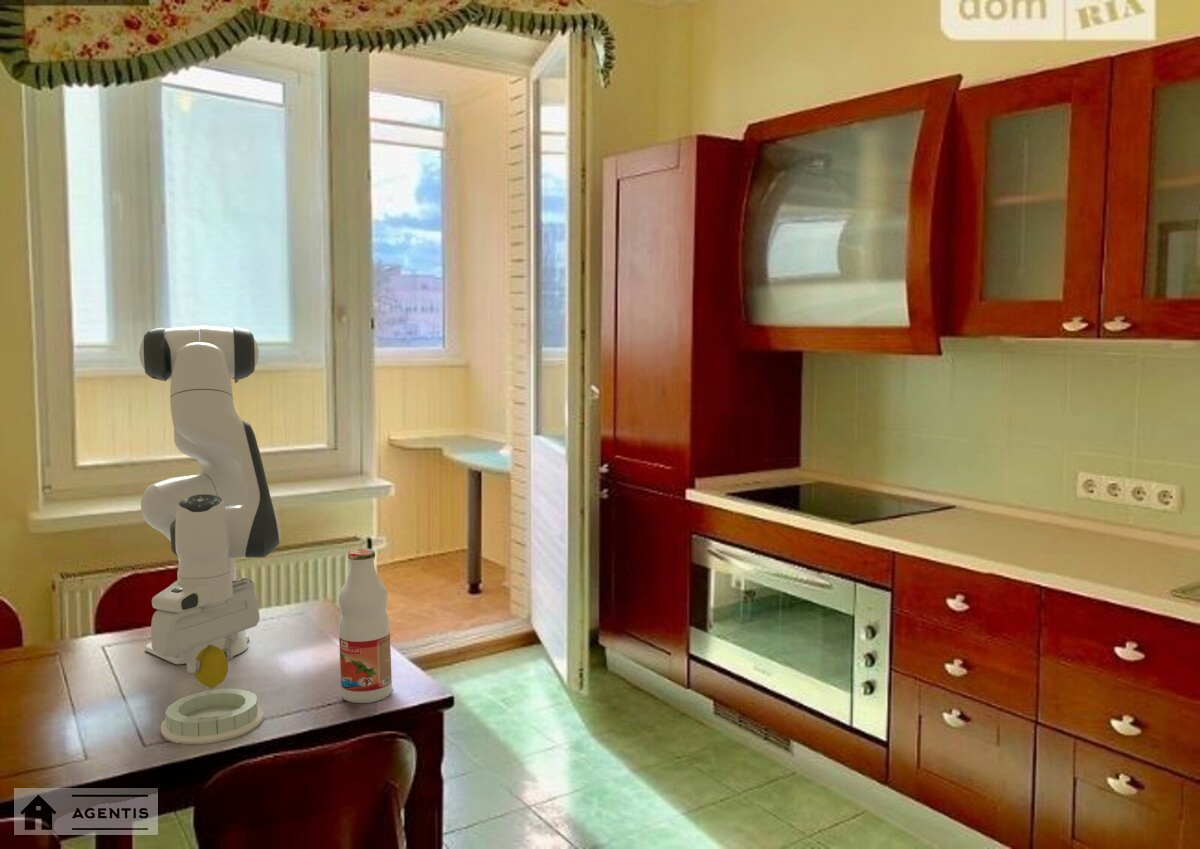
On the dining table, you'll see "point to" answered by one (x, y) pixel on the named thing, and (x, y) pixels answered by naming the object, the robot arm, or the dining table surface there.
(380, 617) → the fruit juice
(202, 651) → the lemon
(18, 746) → the dining table surface
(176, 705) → the ceramic dish
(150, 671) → the dining table surface
